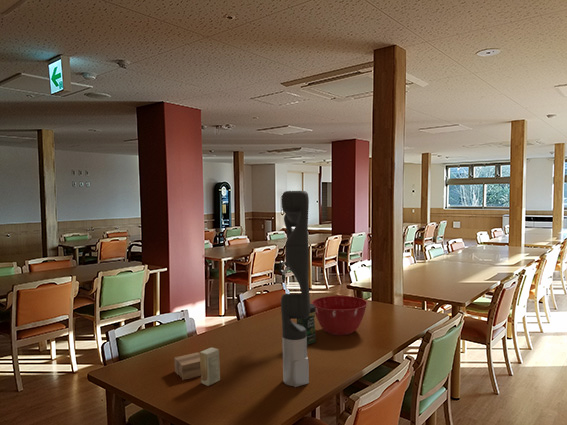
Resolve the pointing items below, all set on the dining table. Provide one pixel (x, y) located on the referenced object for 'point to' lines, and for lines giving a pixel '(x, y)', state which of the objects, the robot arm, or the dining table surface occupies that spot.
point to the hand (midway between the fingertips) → (292, 281)
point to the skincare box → (209, 366)
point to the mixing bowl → (339, 313)
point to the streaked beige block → (188, 365)
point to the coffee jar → (309, 325)
